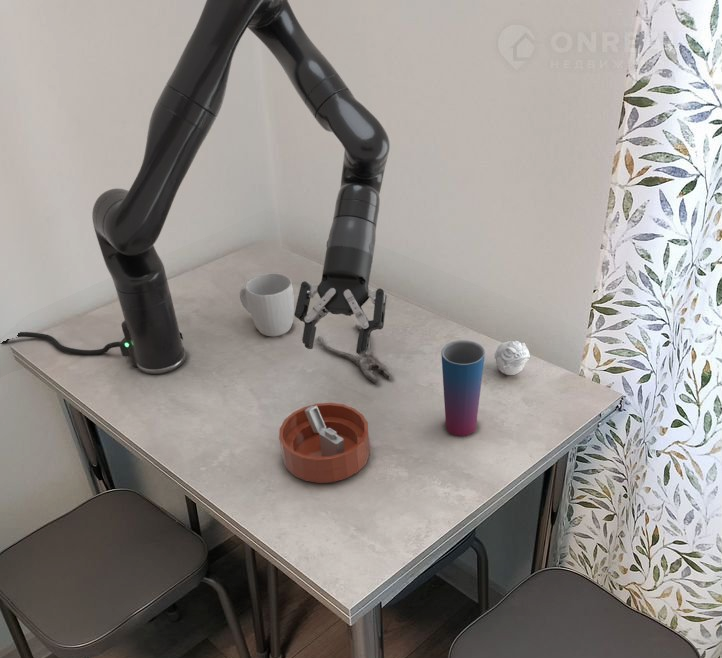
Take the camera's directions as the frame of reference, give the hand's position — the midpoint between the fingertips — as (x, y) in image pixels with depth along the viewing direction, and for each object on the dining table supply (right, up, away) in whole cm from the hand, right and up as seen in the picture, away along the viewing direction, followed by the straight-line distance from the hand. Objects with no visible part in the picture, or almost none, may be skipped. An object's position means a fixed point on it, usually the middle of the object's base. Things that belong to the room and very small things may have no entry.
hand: (333, 350), depth 129 cm
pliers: (+5, +3, +26) cm, 27 cm away
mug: (-14, +10, +36) cm, 40 cm away
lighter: (-1, -16, +4) cm, 17 cm away
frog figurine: (+32, -2, +19) cm, 37 cm away
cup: (+21, -12, +8) cm, 26 cm away
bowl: (-1, -17, +4) cm, 17 cm away
